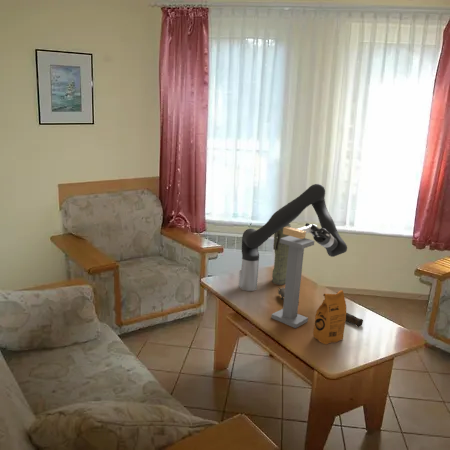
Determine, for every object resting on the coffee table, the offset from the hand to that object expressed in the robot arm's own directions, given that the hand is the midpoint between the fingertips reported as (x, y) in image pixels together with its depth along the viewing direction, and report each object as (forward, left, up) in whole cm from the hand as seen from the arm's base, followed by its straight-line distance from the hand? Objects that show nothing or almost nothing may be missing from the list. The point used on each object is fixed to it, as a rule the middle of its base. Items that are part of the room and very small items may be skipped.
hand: (309, 225), depth 216 cm
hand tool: (+17, +12, -45) cm, 50 cm away
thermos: (-32, +27, -45) cm, 62 cm away
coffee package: (+22, -11, -45) cm, 51 cm away
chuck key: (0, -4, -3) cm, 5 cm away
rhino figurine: (-16, +9, -45) cm, 49 cm away
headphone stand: (0, -9, -45) cm, 46 cm away
